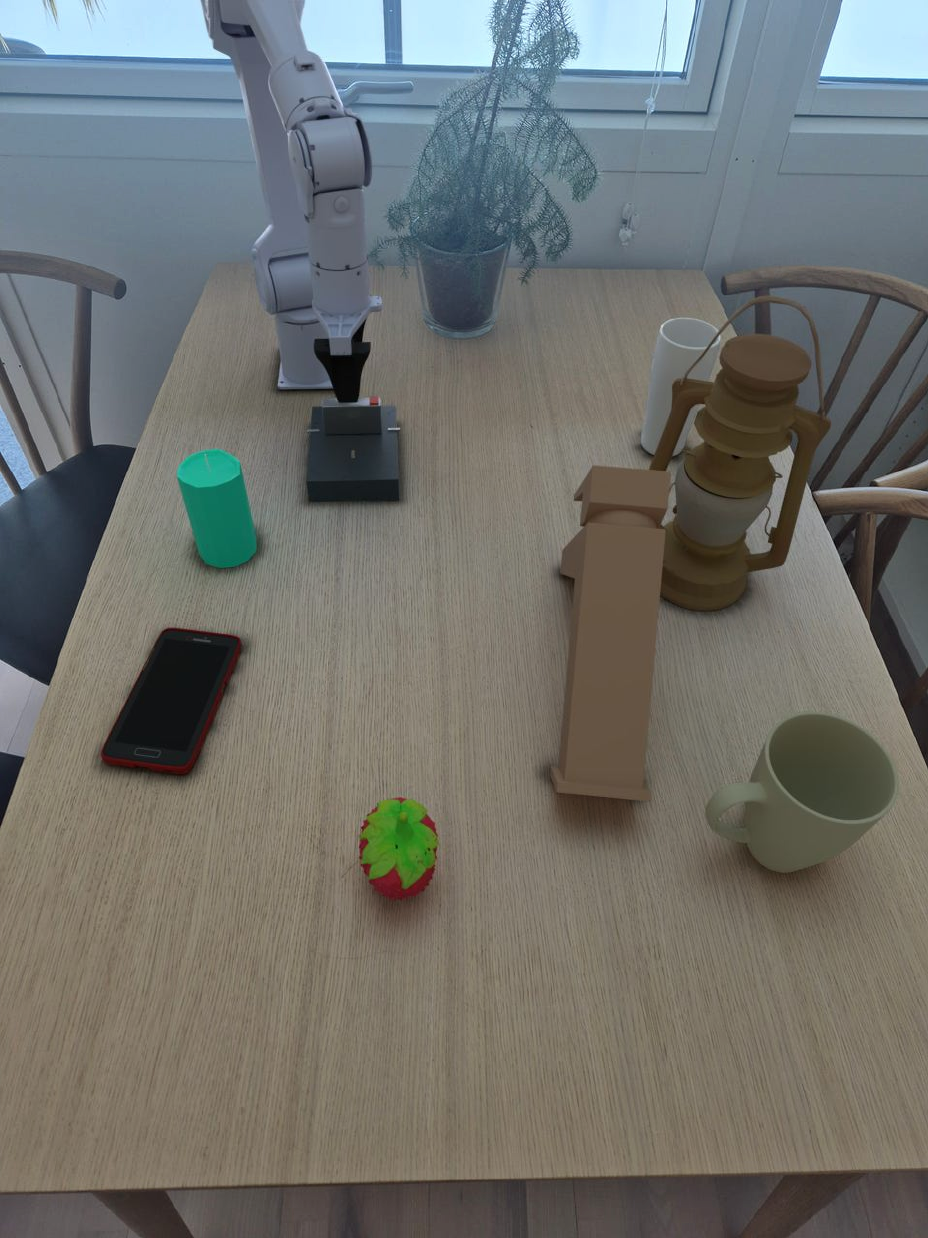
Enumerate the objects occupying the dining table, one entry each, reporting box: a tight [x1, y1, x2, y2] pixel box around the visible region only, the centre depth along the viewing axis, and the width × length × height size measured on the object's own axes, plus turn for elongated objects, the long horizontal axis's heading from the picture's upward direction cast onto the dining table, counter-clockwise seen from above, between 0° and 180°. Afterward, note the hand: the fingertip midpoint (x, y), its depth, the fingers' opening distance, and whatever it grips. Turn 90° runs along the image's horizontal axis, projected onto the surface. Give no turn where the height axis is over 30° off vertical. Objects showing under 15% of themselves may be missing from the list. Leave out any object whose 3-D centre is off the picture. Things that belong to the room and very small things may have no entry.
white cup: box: [640, 317, 722, 457], centre depth 95 cm, size 7×7×15 cm
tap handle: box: [321, 396, 382, 435], centre depth 94 cm, size 6×2×4 cm, turn 94°
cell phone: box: [100, 627, 243, 775], centre depth 73 cm, size 8×15×1 cm, turn 172°
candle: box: [176, 448, 258, 569], centre depth 82 cm, size 6×6×12 cm
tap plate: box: [305, 404, 401, 503], centre depth 95 cm, size 14×11×3 cm
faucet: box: [549, 465, 672, 802], centre depth 74 cm, size 7×23×25 cm
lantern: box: [648, 295, 832, 612], centre depth 75 cm, size 15×10×30 cm
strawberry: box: [358, 796, 440, 902], centre depth 59 cm, size 6×7×10 cm
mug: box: [704, 710, 900, 874], centre depth 61 cm, size 11×10×12 cm
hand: (349, 381), depth 90 cm, fingers open, 7 cm apart
